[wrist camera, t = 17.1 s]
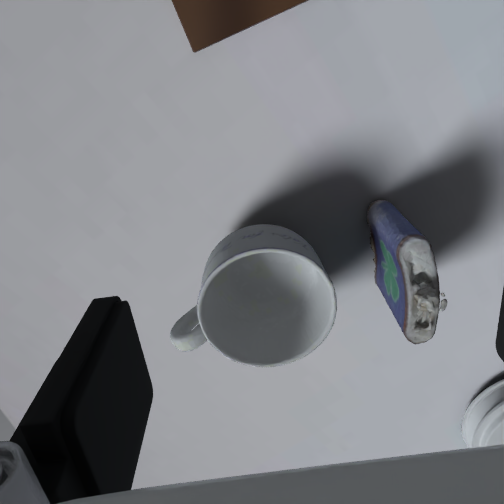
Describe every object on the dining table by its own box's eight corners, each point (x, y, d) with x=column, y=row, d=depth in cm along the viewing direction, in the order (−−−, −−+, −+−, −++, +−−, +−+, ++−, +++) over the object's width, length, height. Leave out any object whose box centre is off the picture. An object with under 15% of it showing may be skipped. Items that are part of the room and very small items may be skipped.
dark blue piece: (363, 201, 37) (406, 251, 27) (397, 194, 37) (452, 241, 27) (374, 292, 41) (415, 364, 31) (405, 286, 41) (456, 357, 31)
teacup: (307, 199, 37) (322, 232, 30) (331, 303, 41) (349, 355, 34) (156, 239, 38) (134, 280, 31) (194, 336, 43) (183, 392, 35)
